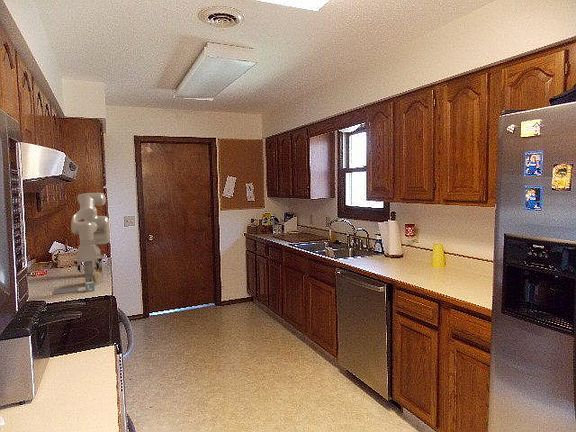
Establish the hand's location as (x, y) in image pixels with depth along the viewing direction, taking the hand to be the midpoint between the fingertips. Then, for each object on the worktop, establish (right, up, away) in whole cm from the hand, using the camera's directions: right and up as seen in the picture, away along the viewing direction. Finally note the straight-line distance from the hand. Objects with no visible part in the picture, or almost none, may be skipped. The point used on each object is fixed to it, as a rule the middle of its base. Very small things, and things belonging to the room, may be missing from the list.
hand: (88, 270), depth 237 cm
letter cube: (0, -13, +1) cm, 13 cm away
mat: (-15, -13, +2) cm, 20 cm away
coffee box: (-6, -11, +18) cm, 22 cm away
